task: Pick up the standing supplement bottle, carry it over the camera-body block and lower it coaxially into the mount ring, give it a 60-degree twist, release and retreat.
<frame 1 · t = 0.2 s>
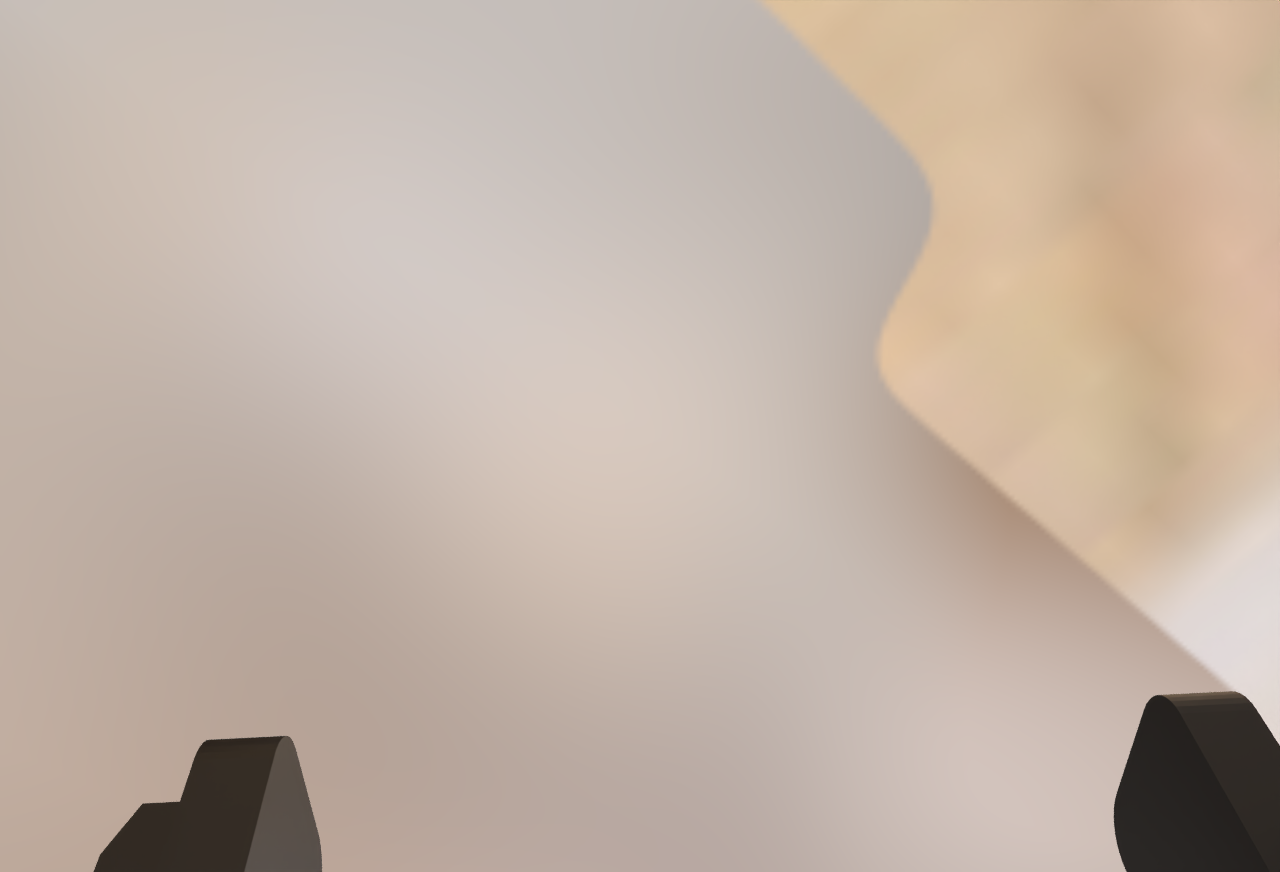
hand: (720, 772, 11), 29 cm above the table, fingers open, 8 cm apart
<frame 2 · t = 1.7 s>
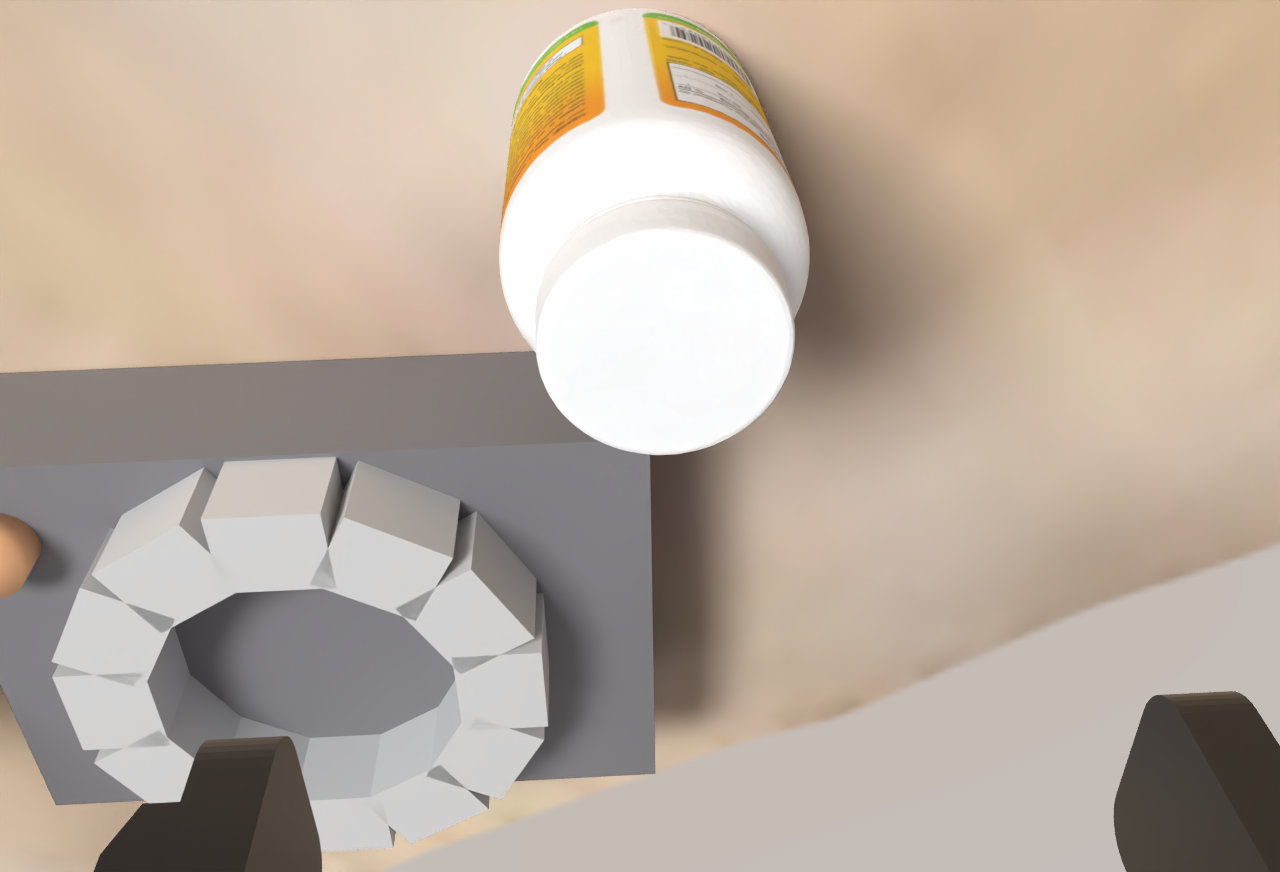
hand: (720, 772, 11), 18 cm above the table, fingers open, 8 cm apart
camera body: (348, 535, 32), on the table
supplement bottle: (635, 126, 26), on the table
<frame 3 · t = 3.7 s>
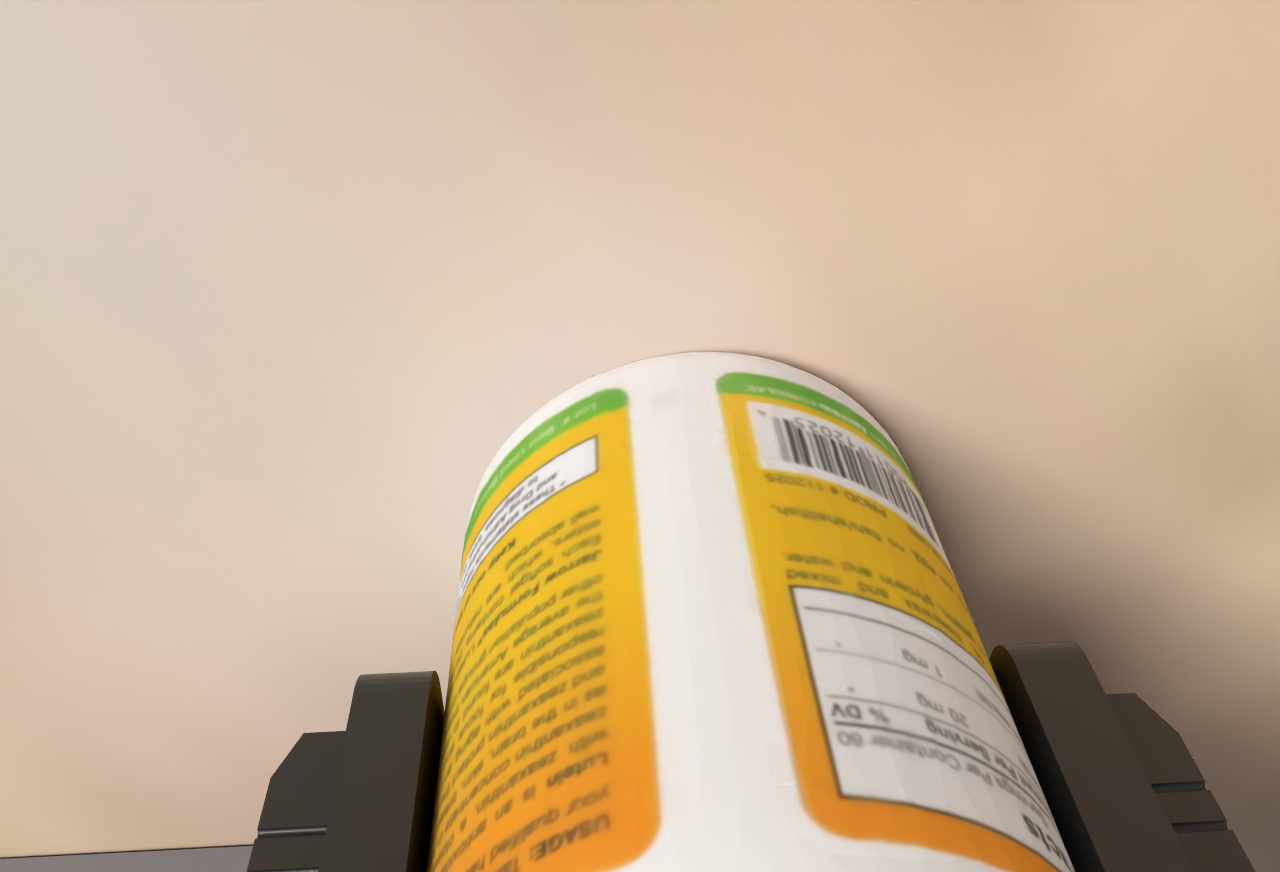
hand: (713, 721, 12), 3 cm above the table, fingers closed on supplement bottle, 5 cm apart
supplement bottle: (690, 520, 14), on the table, touching gripper
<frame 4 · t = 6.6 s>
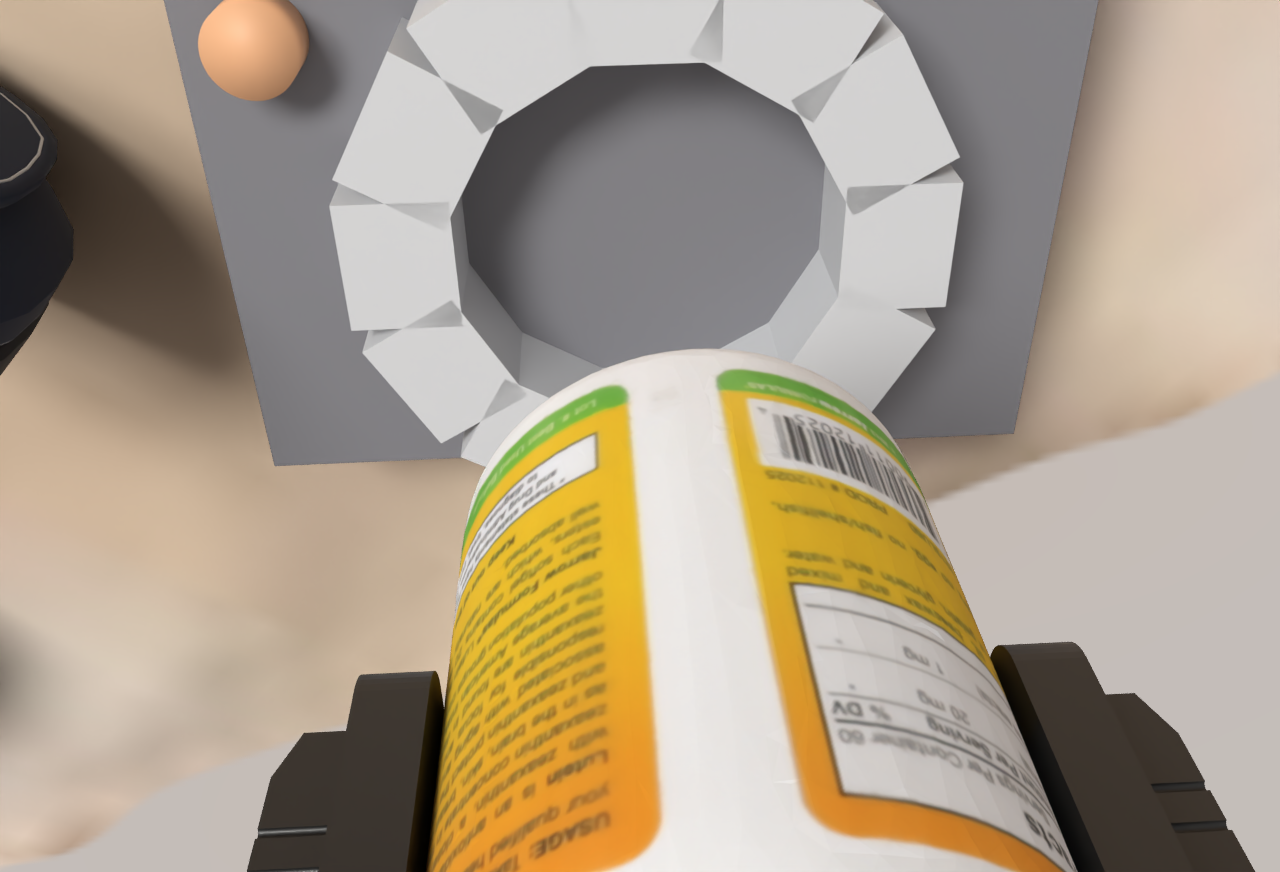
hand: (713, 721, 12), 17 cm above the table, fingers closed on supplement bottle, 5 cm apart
camera body: (634, 137, 26), on the table
supplement bottle: (689, 518, 14), point 14 cm above the table, touching gripper
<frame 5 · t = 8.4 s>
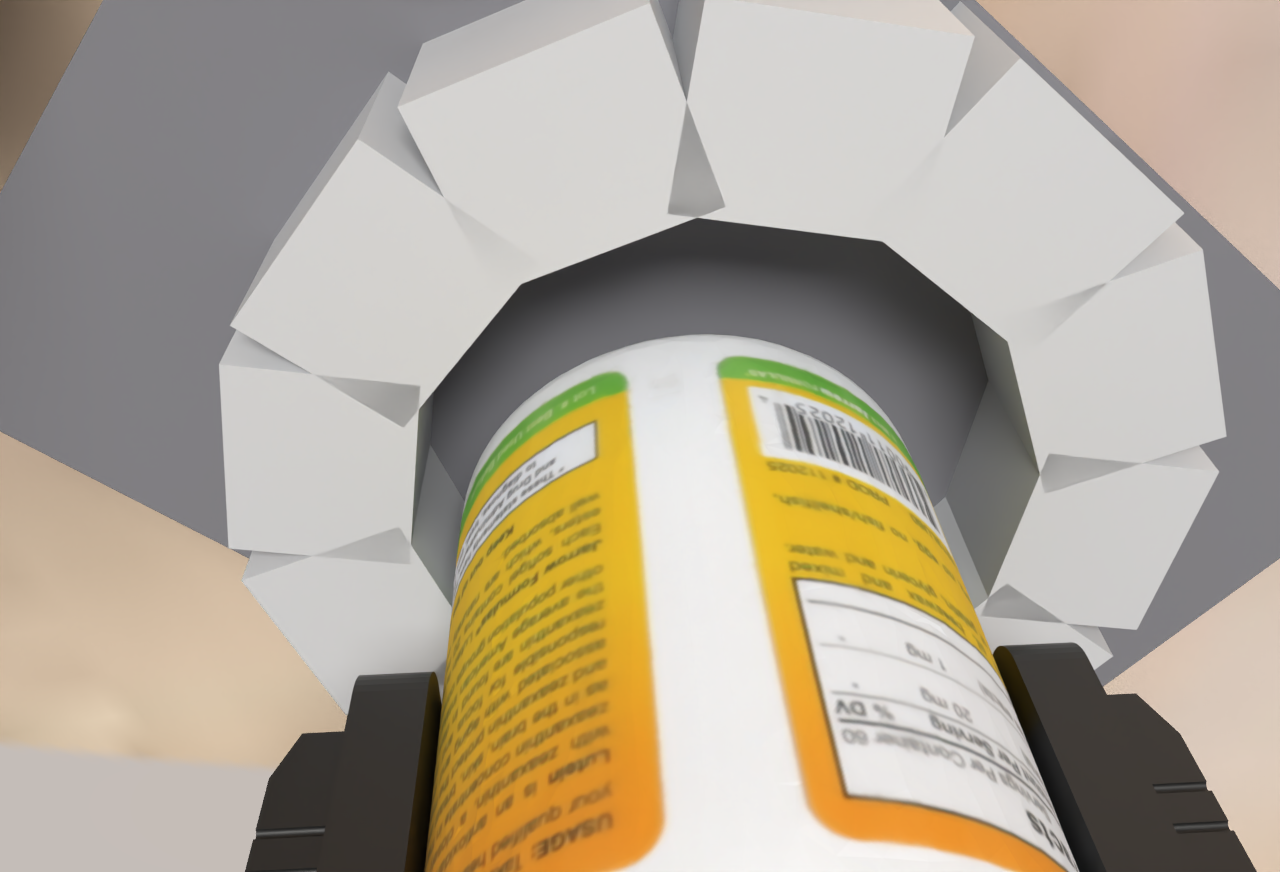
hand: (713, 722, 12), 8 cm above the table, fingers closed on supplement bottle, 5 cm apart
camera body: (684, 271, 18), on the table
supplement bottle: (687, 502, 14), point 5 cm above the table, touching gripper
when the fingers open (8 cm above the table, at t = 9.6 s): supplement bottle stays where it is, resting on camera body.
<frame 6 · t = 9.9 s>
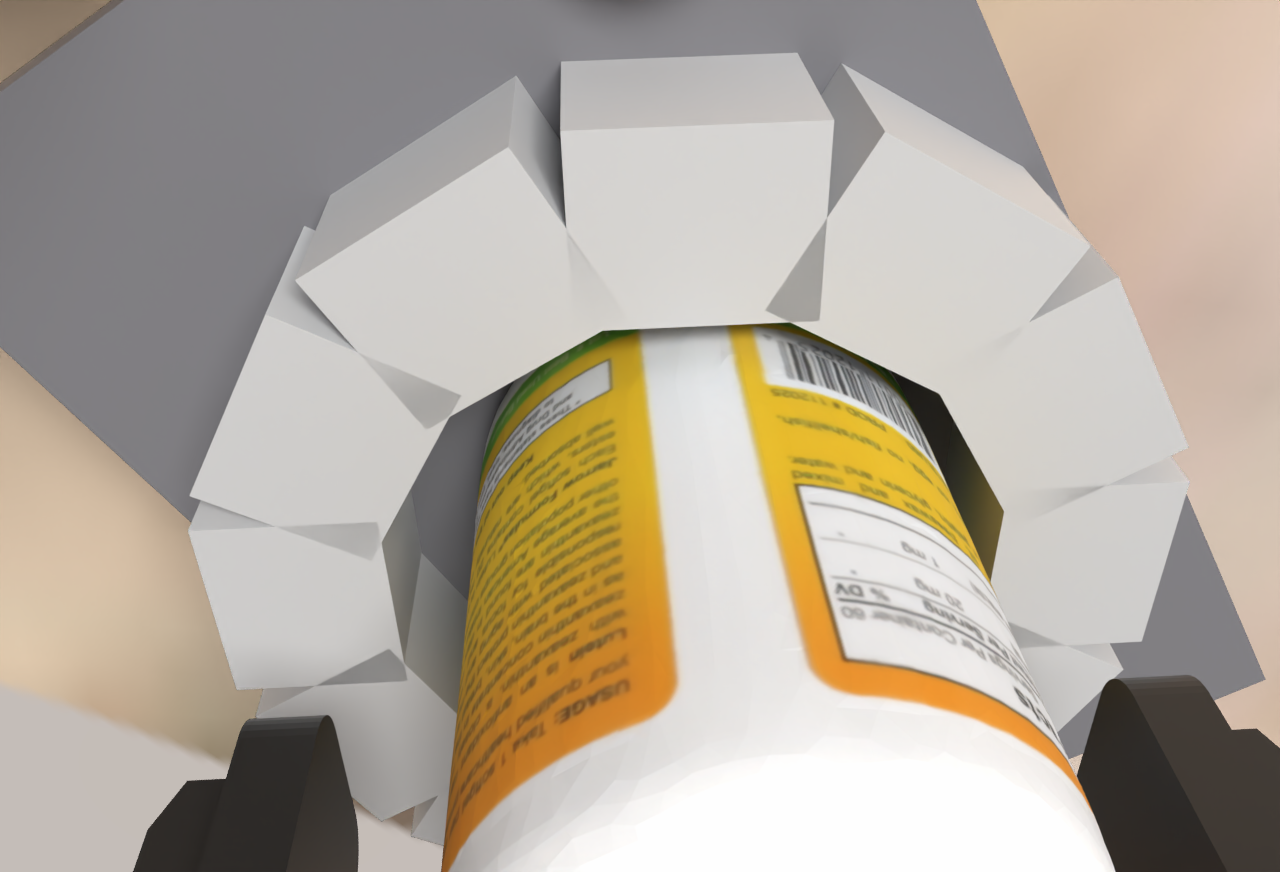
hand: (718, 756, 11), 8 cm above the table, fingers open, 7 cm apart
camera body: (659, 330, 18), on the table
supplement bottle: (696, 454, 15), point 4 cm above the table, touching camera body
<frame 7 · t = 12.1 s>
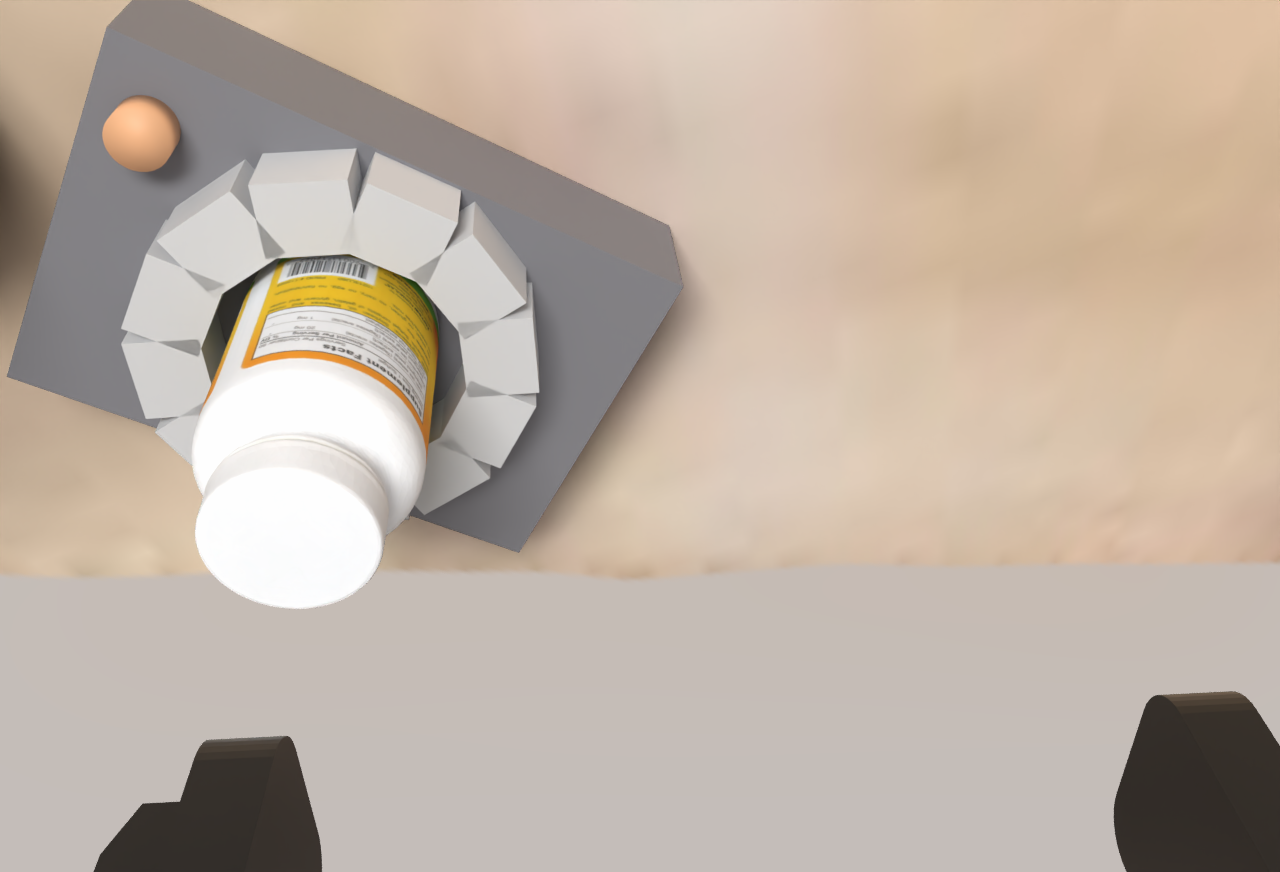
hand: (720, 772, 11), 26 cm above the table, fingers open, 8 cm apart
camera body: (361, 266, 37), on the table
supplement bottle: (345, 316, 33), point 4 cm above the table, touching camera body
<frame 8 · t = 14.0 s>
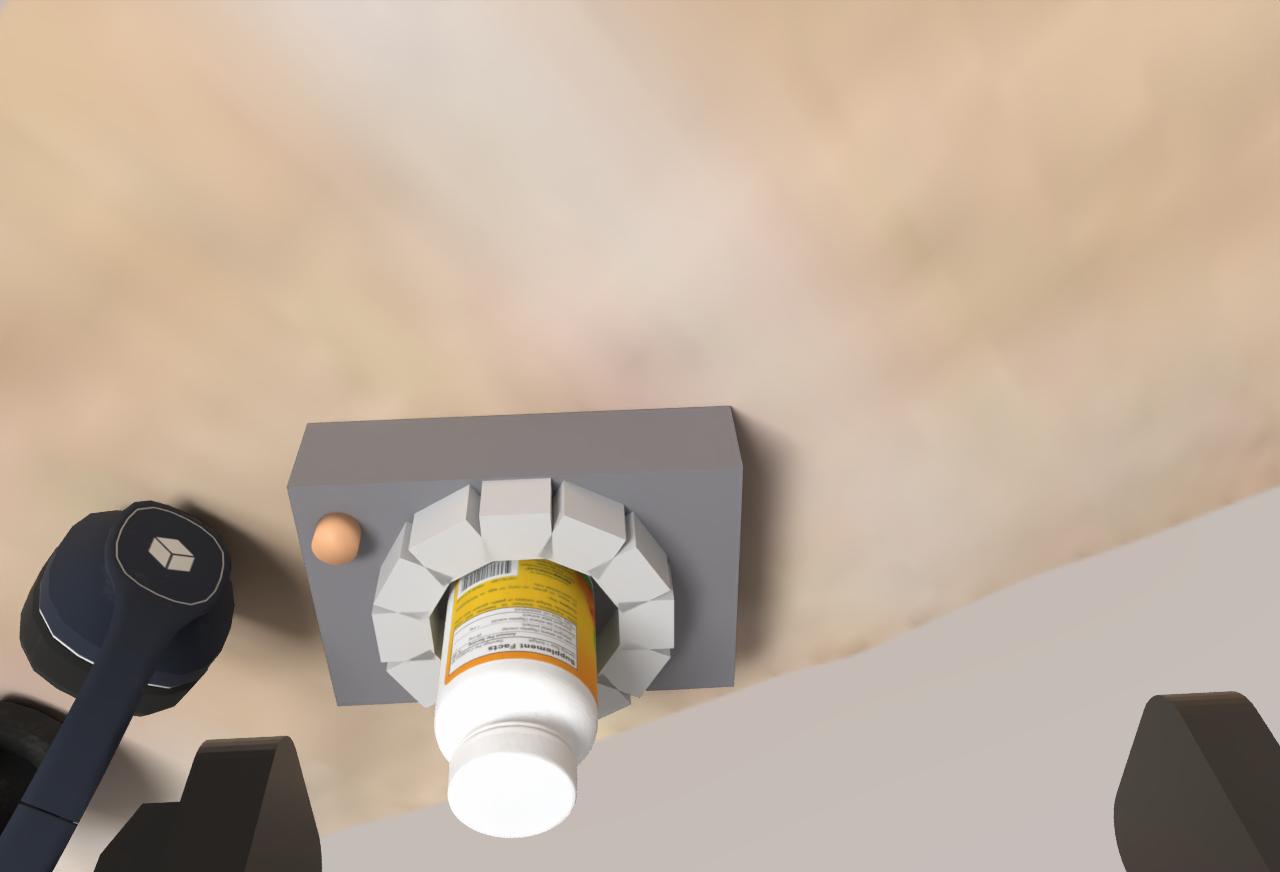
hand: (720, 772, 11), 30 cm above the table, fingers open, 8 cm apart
camera body: (530, 527, 48), on the table
headphones: (91, 635, 50), on the table
supplement bottle: (522, 584, 44), point 4 cm above the table, touching camera body
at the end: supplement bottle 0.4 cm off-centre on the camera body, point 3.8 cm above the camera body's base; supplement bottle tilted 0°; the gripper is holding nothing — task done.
